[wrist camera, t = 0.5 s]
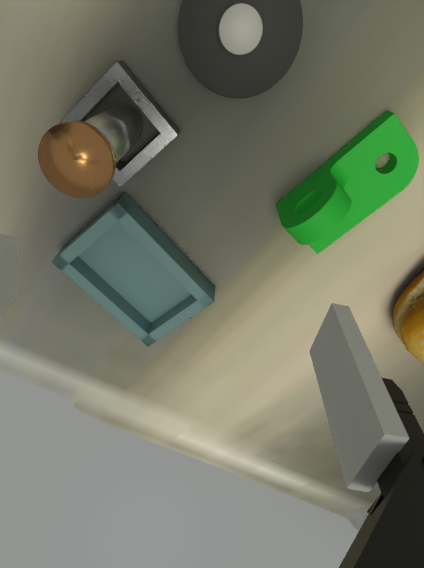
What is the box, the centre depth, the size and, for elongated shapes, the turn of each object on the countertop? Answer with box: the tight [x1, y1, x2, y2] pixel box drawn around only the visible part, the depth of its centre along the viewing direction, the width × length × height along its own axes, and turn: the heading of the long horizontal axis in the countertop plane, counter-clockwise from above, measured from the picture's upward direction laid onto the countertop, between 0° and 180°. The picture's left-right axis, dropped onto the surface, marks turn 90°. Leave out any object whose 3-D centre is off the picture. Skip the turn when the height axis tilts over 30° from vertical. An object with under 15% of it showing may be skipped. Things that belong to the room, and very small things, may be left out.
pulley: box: [179, 0, 303, 98], centre depth 30 cm, size 9×9×4 cm
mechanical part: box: [276, 111, 419, 254], centre depth 34 cm, size 12×6×8 cm, turn 134°
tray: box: [52, 192, 215, 346], centre depth 41 cm, size 13×9×3 cm
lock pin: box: [38, 104, 143, 198], centre depth 30 cm, size 4×4×13 cm
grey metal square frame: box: [60, 61, 180, 187], centre depth 34 cm, size 7×7×2 cm
